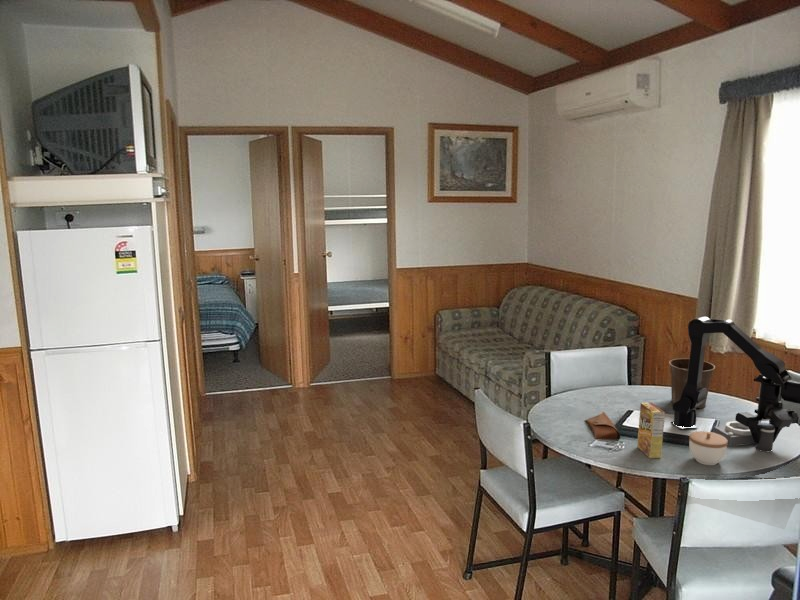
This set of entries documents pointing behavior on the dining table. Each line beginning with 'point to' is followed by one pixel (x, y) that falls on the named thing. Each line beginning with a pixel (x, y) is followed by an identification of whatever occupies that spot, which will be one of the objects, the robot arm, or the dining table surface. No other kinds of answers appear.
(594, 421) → the sunglasses case
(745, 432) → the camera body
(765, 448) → the lens
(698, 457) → the lidded jar
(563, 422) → the dining table surface
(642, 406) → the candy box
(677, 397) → the plant pot
